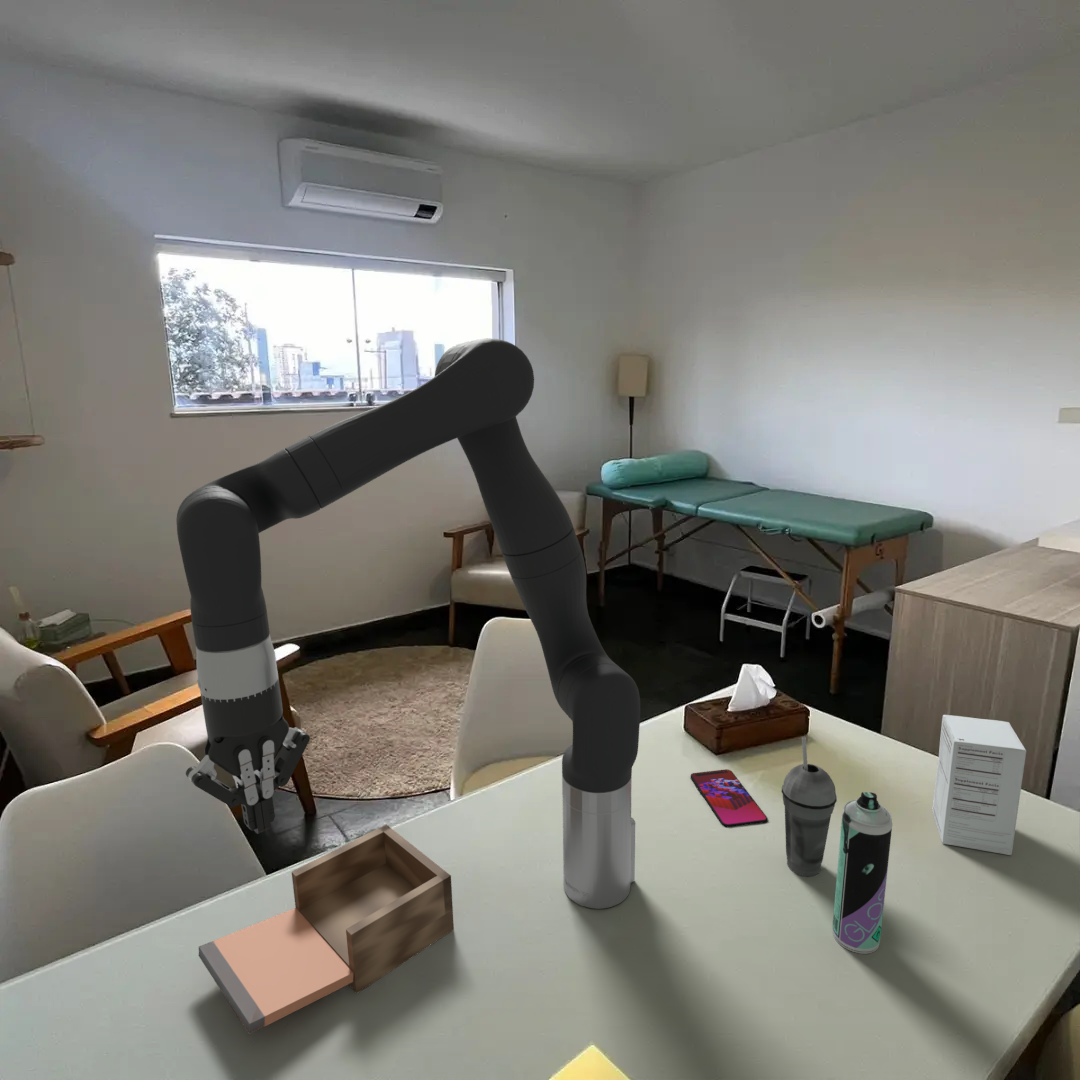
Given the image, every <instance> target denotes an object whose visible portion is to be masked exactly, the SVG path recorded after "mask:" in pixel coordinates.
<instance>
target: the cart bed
mask: <svg viewBox="0 0 1080 1080" xmlns="http://www.w3.org/2000/svg"><path fill="white" fill-rule="evenodd" d="M291 879H292V881H291V882H292V886H293V887H292V888H293V897H294V905H295V906H294V908H297V909H298V911H299V912H300V913H301V914H302V915H303V916H304V917H305V918H306V920H307V921H308V922H309V923H310V924H311V925H312V926H313V927H314V929H315V930H316V931H317V932H318V933H319V934H320V935H321V936H322V937H323V939H324V940H325V941H326V942H327V943H328V944H329V945H330V946H331V948H332V949H333V950H334V951H335V952H336V953H337V954H338V955H339V957H340V958H341V959H342V960H343V961H344V962H345V963H346V964H347V966H348V967H349V968H350V969H351V970H352V971H353V972H354V974H353V982H352V983H350V984H348V986H349V987H350V989H352V990H353V991H354V992H355V994H358V993H360V992H361V991H363V990H364V989H366V988H367V987H369V986H370V985H372V984H373V983H375V982H377V981H378V980H380V979H381V978H383V977H384V976H386V975H388V974H389V973H390V972H392V971H393V970H394V969H397V967H400V966H401V965H403V964H404V963H406V962H407V961H408V960H410V959H411V958H413V957H414V956H416V955H417V953H418V954H419V953H420V952H422V951H424V950H425V949H427V948H428V947H430V946H431V945H433V944H434V943H436V942H437V941H439V940H440V939H442V938H443V937H445V936H447V935H448V934H449V933H451V932H452V931H454V930H455V928H454V927H455V926H454V909H453V908H454V907H453V893H452V888H453V887H452V875H451V874H450V873H448V872H447V871H446V870H444V869H443V868H442V866H441V867H440V865H438V864H437V863H435V861H434V860H432V859H431V858H430V857H428V855H426V854H424V853H423V852H422V851H420V849H419V848H417V847H416V846H414V845H413V844H412V843H411V842H410V841H408V840H407V839H405V838H404V837H403V836H402V835H400V834H399V833H398V832H397V831H395V830H394V829H393V828H392V827H391V826H389V825H387V824H384V825H382V826H380V827H378V828H376V829H375V830H374V829H373V830H372V831H369V832H368V833H367V834H364V835H363V836H360V837H358V838H356V839H354V840H353V841H350V842H348V843H347V844H345V845H342V846H341V847H338V848H336V849H335V850H332V851H330V852H328V853H326V854H324V855H322V856H320V857H318V858H316V859H314V860H311V861H310V862H308V863H306V864H304V865H302V866H299V867H298V868H297V869H294V870H292V871H291ZM447 933H448V934H447ZM441 937H442V938H441ZM438 939H439V940H438ZM436 940H437V941H436ZM435 941H436V942H435ZM432 943H433V944H432ZM430 944H431V945H430ZM429 945H430V946H429ZM426 947H427V948H426Z"/></svg>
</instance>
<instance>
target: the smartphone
mask: <svg viewBox="0 0 1080 1080" xmlns="http://www.w3.org/2000/svg"><path fill="white" fill-rule="evenodd" d="M690 780H691V781H692V783H693V784H694V786H695V787H696V789H697V791H698V792H699V794H700V796H702V798H703V800H704V801H705V802H706V804H707V805H708V806H709V809H710V810H711V811H712V813H713V814H714V816H715V817H716V819H717V820H718V821H719V823H720V825H722V827H725V828H733V827H739V826H748V825H756V824H764V823H767V822H768V816H767V815H766V814H765V812H764V811H763V810H762V809H761V807H760V806H759V805H758V803H757V802H756V801H755V799H754V798H753V796H751V795H750V793H749V792H748V790H747V789H746V788H745V786H744V785H743V783H741V781H740V780H739V779H738V777H737V775H735V773H734V772H733V771H732V770H731V769H727V768H726V769H718V770H717V769H716V770H707V771H700V772H699V771H698V772H692V773H691V774H690Z"/></svg>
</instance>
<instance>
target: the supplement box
mask: <svg viewBox="0 0 1080 1080" xmlns="http://www.w3.org/2000/svg"><path fill="white" fill-rule="evenodd" d="M940 729H941V730H940V735H939V736H940V740H939V751H938V761H937V767H936V775H935V784H934V792H933V802H932V809H931V810H932V816H933V817H934V818H933V819H934V822H935V825H936V827H937V831H938V834H939V837H940V840H941V843H942V844H943V845H948V846H949V845H950V846H956V847H960V848H961V847H962V848H966V849H972V850H978V851H983V852H989V853H995V854H1002V855H1006V856H1007V855H1008V856H1012V855H1013V848H1014V841H1015V835H1016V834H1015V833H1016V827H1017V819H1018V814H1019V805H1020V798H1021V792H1022V785H1023V784H1022V783H1023V776H1024V770H1025V763H1026V756H1027V750H1026V748H1025V746H1024V744H1023V743H1022V742H1021V740H1020V739H1019V737H1018V735H1017V733H1016V732H1015V730H1014V728H1013V727H1012V725H1011V723H1010V722H1009V721H1004V720H996V719H987V718H985V719H984V718H975V717H969V716H963V715H962V716H961V715H951V714H943V715H942V719H941V728H940Z"/></svg>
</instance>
